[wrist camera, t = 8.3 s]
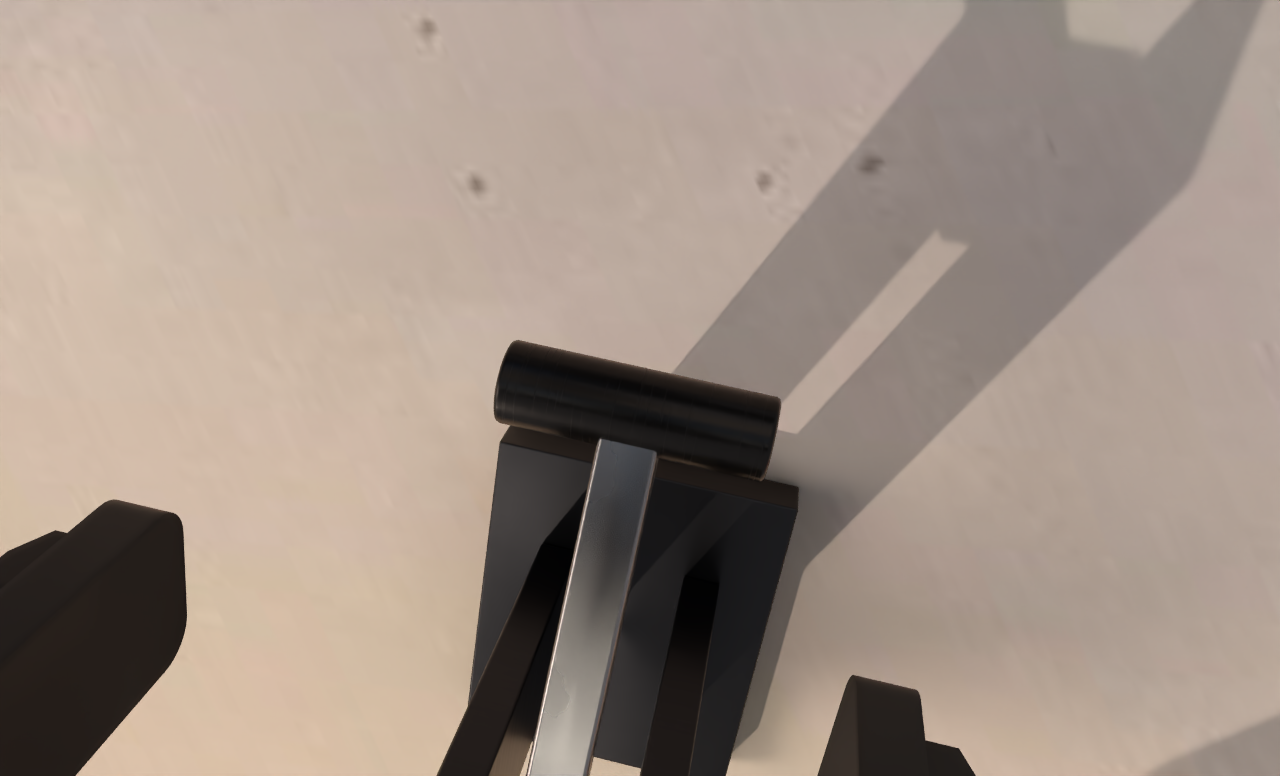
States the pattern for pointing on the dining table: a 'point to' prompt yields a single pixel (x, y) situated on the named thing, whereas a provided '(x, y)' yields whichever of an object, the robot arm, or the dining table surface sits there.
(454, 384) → the dining table surface
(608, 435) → the lever
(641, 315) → the dining table surface
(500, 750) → the bracket
